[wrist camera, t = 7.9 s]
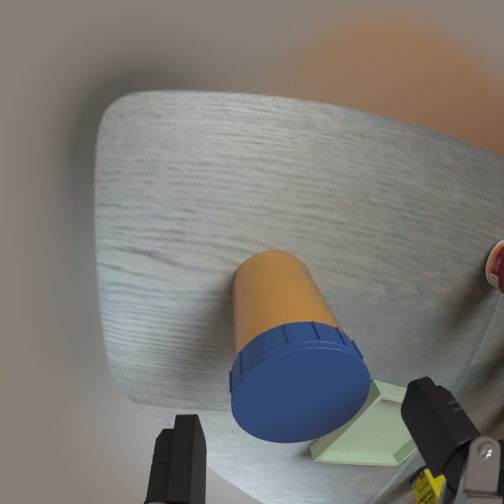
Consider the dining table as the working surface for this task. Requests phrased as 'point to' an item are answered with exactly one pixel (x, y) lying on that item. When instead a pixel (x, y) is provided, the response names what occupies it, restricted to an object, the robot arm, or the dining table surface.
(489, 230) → the dining table surface
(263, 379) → the lid
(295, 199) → the dining table surface
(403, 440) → the tray
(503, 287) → the pill bottle
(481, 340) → the dining table surface
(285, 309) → the jar
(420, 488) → the supplement box
